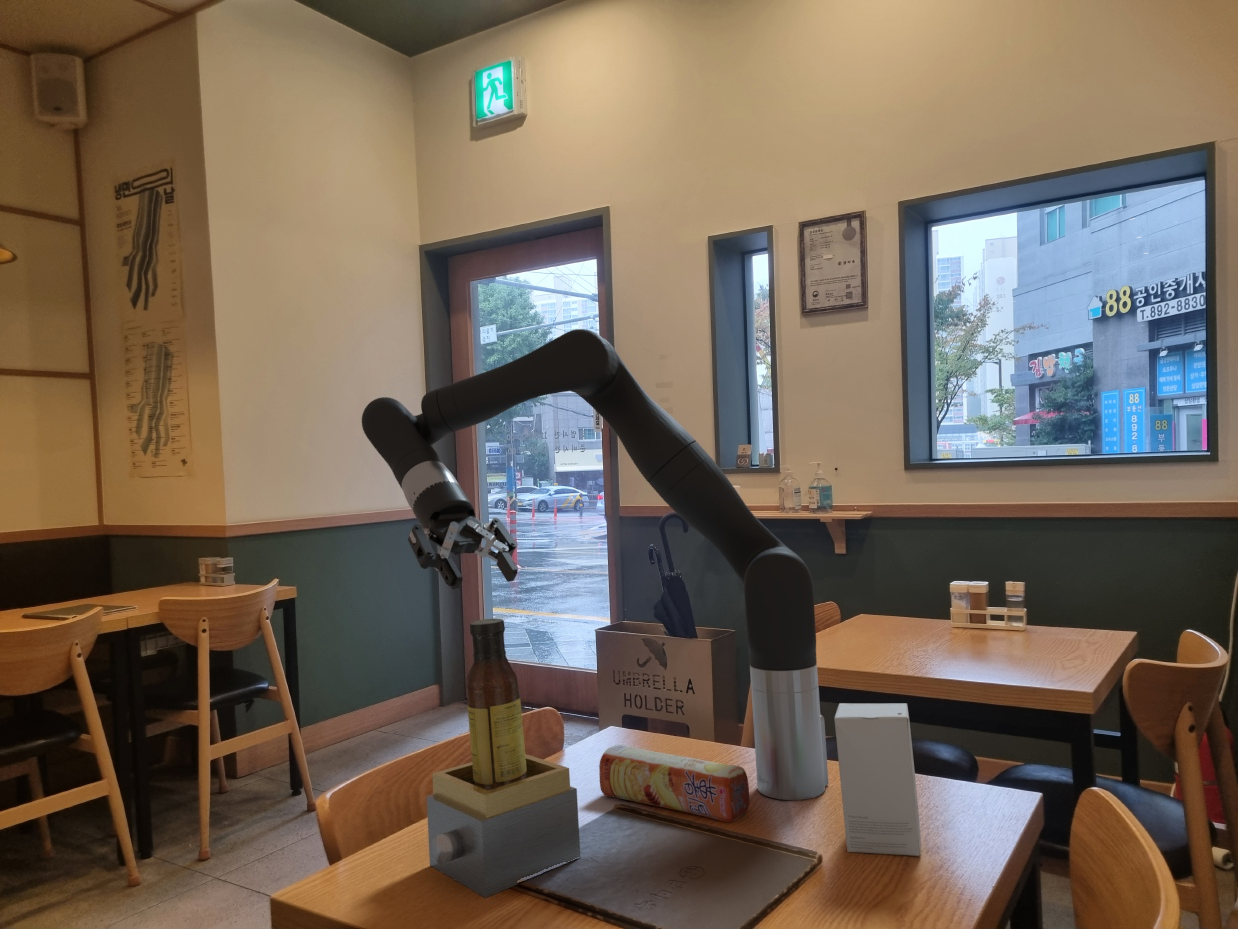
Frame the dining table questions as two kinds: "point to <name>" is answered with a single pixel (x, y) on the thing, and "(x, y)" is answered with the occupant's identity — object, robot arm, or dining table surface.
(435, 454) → the robot arm
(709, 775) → the snack package
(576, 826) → the box
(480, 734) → the sauce bottle
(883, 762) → the skincare box
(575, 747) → the dining table surface
